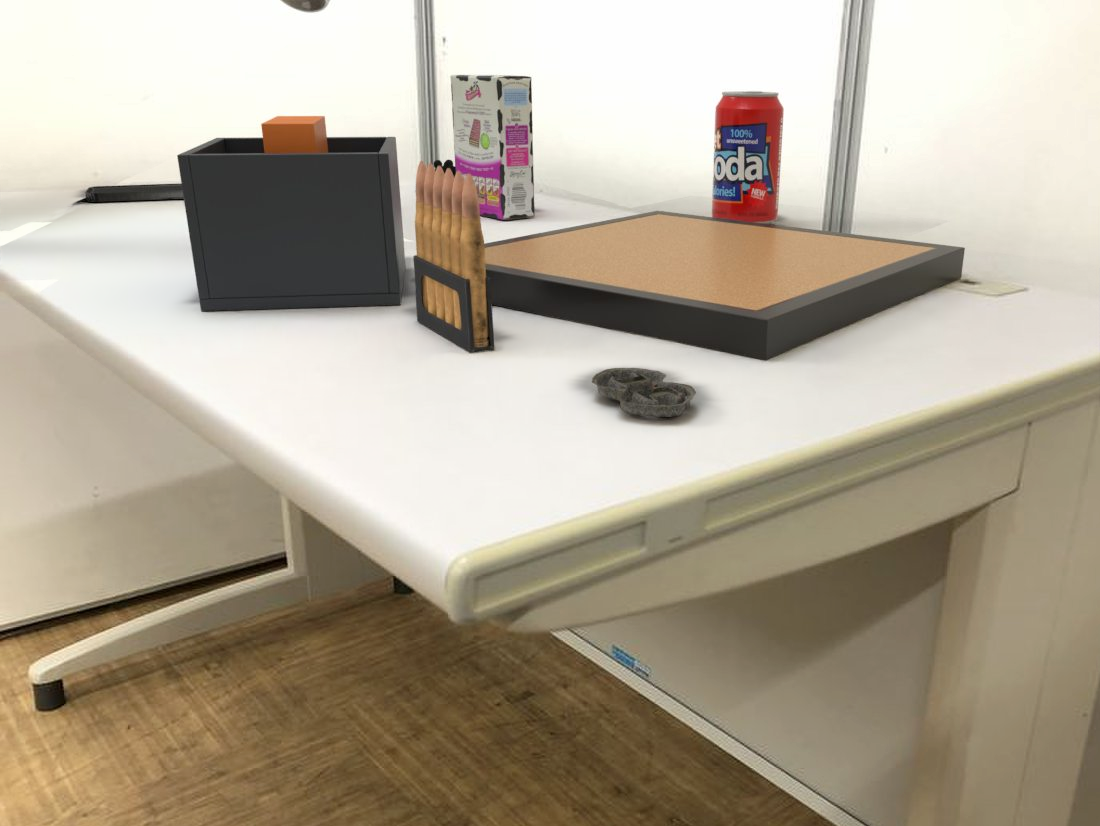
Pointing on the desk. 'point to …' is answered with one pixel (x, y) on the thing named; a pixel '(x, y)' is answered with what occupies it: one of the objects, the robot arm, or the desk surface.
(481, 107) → the candy bar box
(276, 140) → the block
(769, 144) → the soda can
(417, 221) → the ammunition clip
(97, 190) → the phone
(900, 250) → the cork board
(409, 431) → the desk surface
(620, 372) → the corroded twin loop
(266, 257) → the trash can
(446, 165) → the wireless earbuds
